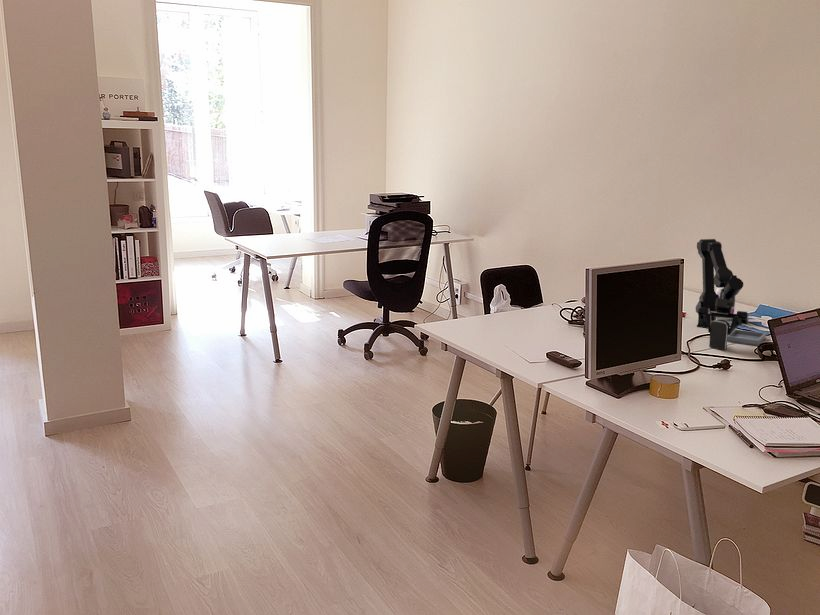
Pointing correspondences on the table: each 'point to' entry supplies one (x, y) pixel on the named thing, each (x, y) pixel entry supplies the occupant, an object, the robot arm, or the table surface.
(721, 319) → the supplement can
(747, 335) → the tray
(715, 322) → the battery
